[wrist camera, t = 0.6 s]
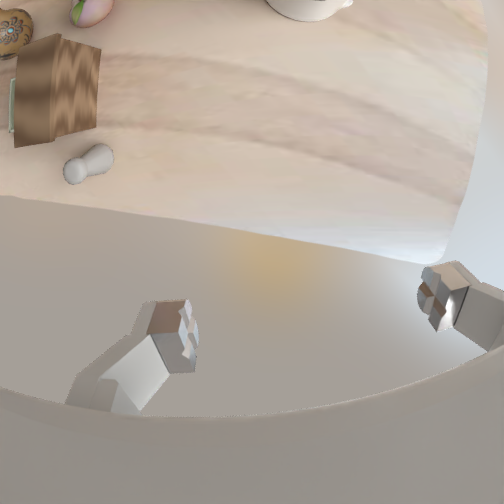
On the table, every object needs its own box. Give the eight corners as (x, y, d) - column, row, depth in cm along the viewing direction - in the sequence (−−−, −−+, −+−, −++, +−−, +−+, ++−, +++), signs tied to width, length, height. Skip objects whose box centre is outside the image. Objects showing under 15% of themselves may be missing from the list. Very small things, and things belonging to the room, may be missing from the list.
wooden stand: (24, 68, 35) (-26, 70, 20) (103, 47, 36) (57, 33, 22) (22, 139, 43) (-27, 157, 28) (98, 129, 44) (50, 142, 30)
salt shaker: (102, 176, 49) (69, 197, 37) (88, 153, 46) (51, 169, 35) (123, 159, 48) (92, 177, 36) (108, 136, 45) (73, 147, 34)
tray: (15, 79, 33) (10, 79, 32) (47, 68, 34) (42, 67, 32) (14, 131, 39) (8, 133, 37) (45, 125, 40) (40, 126, 38)
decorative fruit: (119, 26, 35) (96, 14, 26) (83, 35, 34) (55, 27, 25) (125, -12, 30) (104, -29, 21) (88, -2, 30) (64, -15, 21)
